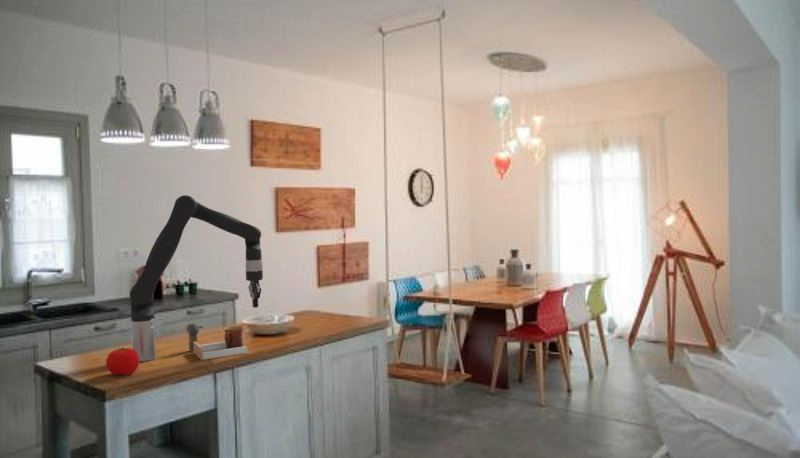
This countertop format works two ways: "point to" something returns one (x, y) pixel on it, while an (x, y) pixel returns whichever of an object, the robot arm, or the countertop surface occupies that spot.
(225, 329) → the mug
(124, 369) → the tomato
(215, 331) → the countertop surface
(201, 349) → the tray
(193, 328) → the winch prop
